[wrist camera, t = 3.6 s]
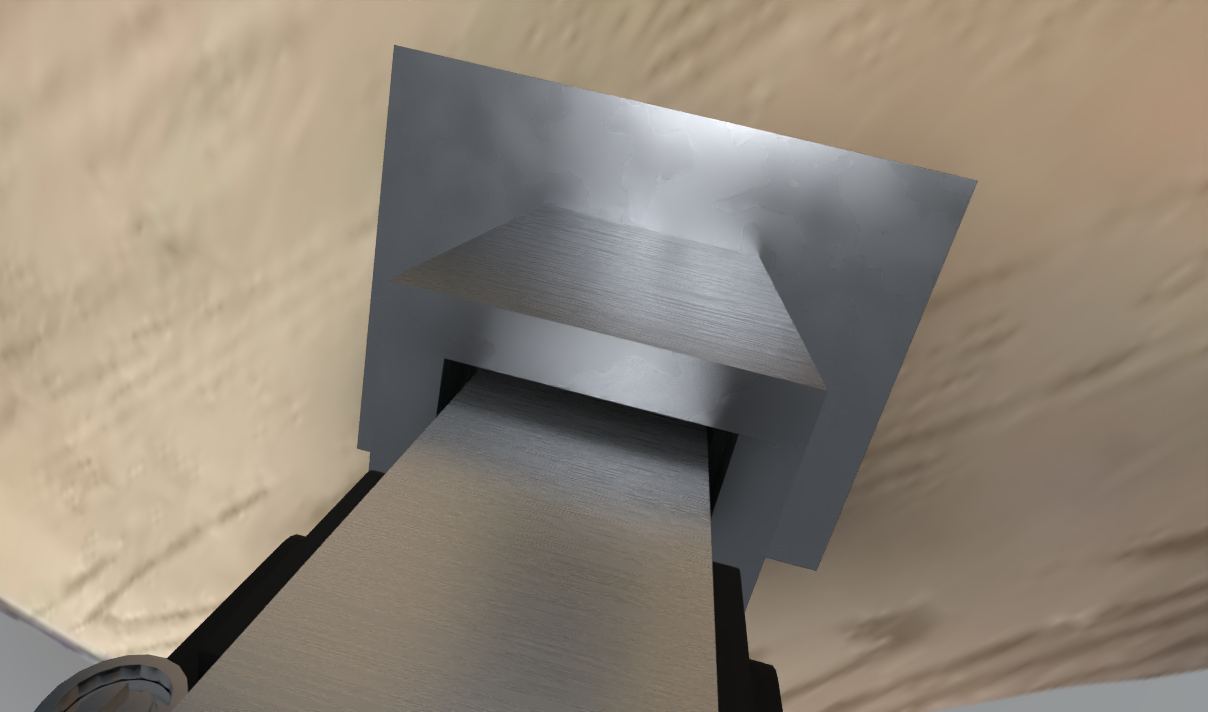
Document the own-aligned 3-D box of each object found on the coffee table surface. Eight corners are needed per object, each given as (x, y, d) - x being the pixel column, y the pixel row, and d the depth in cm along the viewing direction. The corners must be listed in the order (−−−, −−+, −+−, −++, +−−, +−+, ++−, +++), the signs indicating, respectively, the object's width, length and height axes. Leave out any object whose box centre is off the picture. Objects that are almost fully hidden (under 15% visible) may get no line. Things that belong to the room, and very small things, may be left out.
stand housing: (960, 177, 22) (1337, 244, 9) (810, 548, 28) (912, 917, 15) (412, 49, 23) (51, -54, 10) (373, 432, 29) (108, 683, 16)
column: (704, 292, 23) (748, 978, 4) (670, 413, 24) (598, 1274, 6) (572, 260, 23) (83, 780, 5) (548, 381, 24) (119, 1115, 6)
